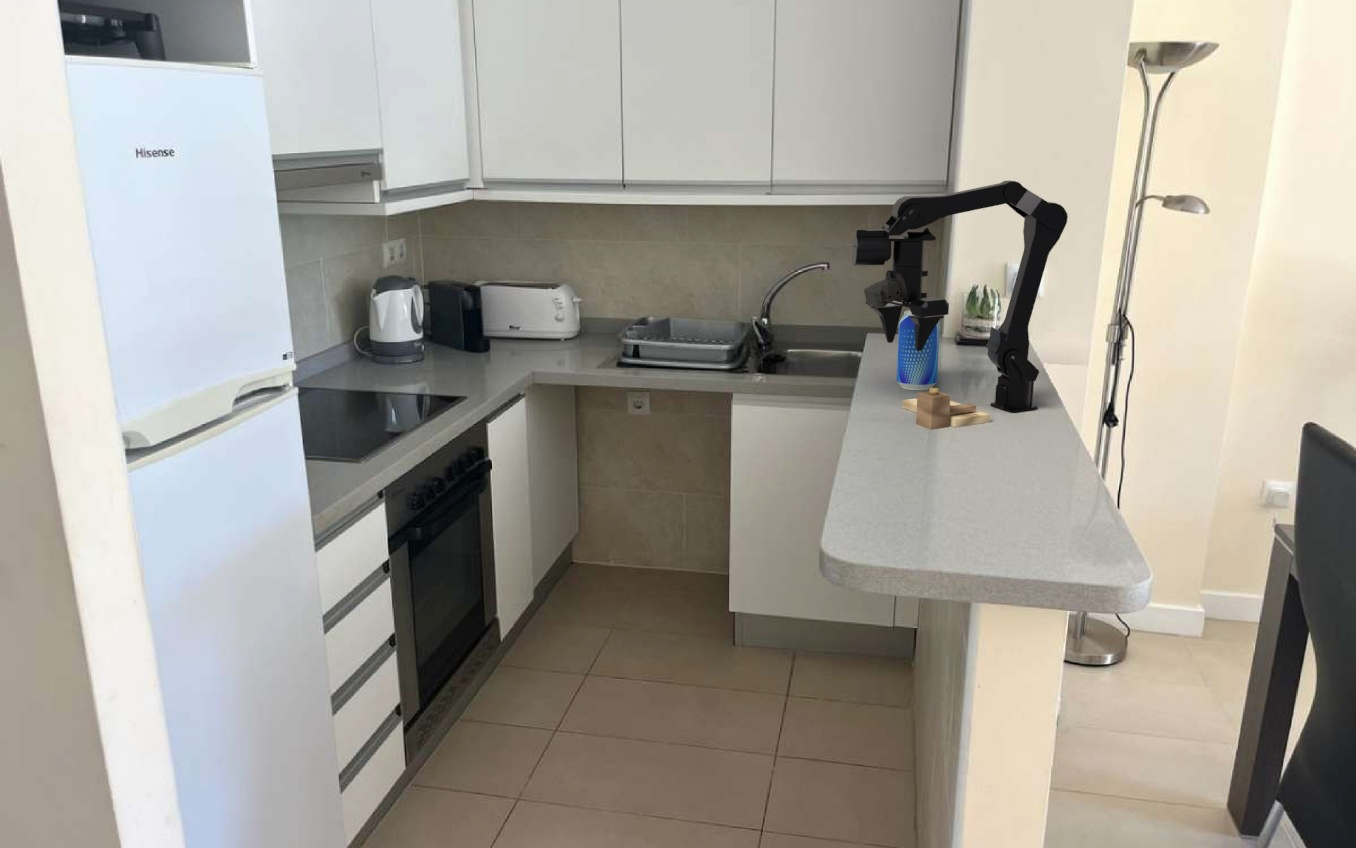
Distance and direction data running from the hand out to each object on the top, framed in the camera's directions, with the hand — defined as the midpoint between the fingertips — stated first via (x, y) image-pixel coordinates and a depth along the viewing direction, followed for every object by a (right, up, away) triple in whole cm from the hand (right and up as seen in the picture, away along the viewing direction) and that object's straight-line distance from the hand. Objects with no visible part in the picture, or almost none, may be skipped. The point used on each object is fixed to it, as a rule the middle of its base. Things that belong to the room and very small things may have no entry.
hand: (904, 346), depth 192 cm
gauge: (+7, -15, -6) cm, 17 cm away
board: (+8, -13, -1) cm, 15 cm away
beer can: (+7, -7, +21) cm, 24 cm away
